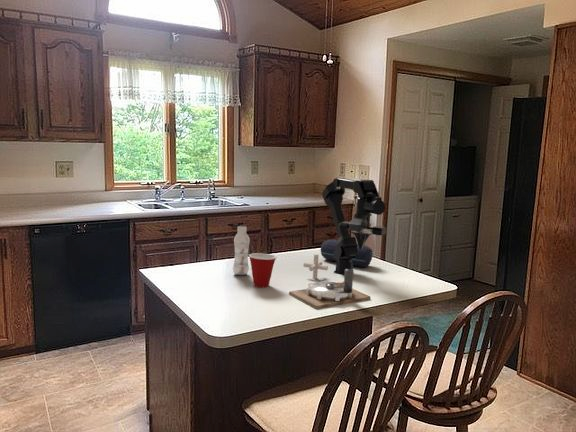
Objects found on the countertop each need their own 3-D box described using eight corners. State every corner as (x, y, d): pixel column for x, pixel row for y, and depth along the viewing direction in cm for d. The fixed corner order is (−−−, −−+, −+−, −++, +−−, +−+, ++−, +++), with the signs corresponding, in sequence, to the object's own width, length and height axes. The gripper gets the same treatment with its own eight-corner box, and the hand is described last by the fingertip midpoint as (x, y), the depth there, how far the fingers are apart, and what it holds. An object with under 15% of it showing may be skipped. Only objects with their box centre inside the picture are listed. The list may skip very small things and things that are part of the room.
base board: (315, 309, 161) (316, 300, 161) (288, 294, 175) (289, 286, 175) (370, 299, 174) (370, 291, 173) (341, 286, 188) (341, 278, 188)
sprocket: (297, 294, 172) (299, 267, 170) (319, 283, 186) (321, 258, 184) (341, 304, 163) (342, 275, 161) (360, 292, 177) (362, 265, 176)
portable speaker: (375, 266, 221) (377, 245, 219) (365, 270, 213) (366, 248, 211) (329, 256, 236) (330, 236, 234) (317, 260, 228) (318, 239, 226)
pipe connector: (330, 277, 200) (332, 253, 198) (322, 283, 191) (323, 258, 189) (308, 273, 204) (309, 250, 202) (298, 279, 195) (300, 255, 193)
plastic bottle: (229, 275, 196) (230, 227, 193) (237, 271, 202) (238, 224, 199) (243, 277, 194) (245, 228, 191) (251, 273, 200) (252, 226, 197)
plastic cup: (280, 284, 187) (282, 254, 185) (266, 291, 178) (267, 259, 176) (257, 279, 192) (258, 250, 190) (241, 286, 183) (242, 255, 181)
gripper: (333, 210, 192) (331, 248, 194) (377, 215, 182) (374, 256, 184) (345, 207, 201) (343, 244, 203) (388, 212, 191) (385, 251, 193)
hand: (360, 249), depth 196 cm, fingers closed
